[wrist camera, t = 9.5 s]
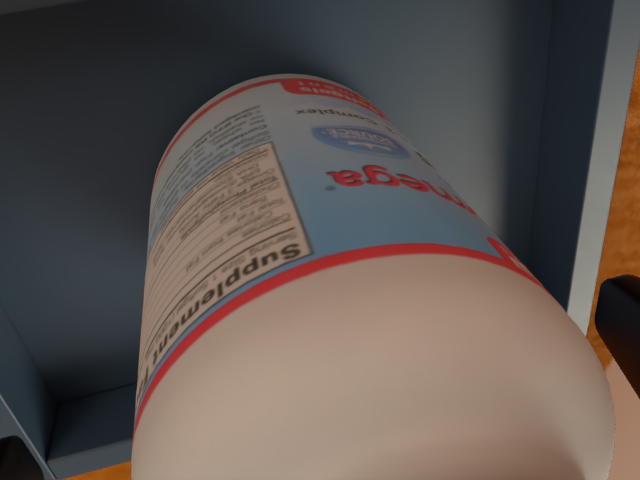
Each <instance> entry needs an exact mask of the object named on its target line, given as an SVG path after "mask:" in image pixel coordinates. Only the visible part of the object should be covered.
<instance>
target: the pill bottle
mask: <svg viewBox="0 0 640 480" xmlns="http://www.w3.org/2000/svg"><path fill="white" fill-rule="evenodd" d="M614 445H615V416H614V407H613V402H612V397H611V392H610V387H609V383H608V380H607V377H606V375H605V372H604V369H603V367H602V365H601V363H600V360H599V358H598V356H597V355H596V353H595V351H594V349H593V348H592V346H591V344H590V342H589V341H588V339H587V338H586V337H585V335H584V334H583V333H582V331H581V330H580V328H579V327H578V326H577V324H576V323H575V322H574V321H573V320H572V319H571V318H570V317H569V315H568V314H567V313H566V312H565V310H564V309H563V307H562V306H561V305H560V304H559V303H558V302H557V301H556V300H555V298H554V297H553V296H552V295H551V294H550V293H549V292H548V291H547V290H546V289H545V288H544V287H543V285H542V284H541V283H540V282H539V281H538V280H537V279H536V278H535V277H534V276H533V274H532V273H531V272H530V271H529V270H528V269H527V268H526V267H525V266H524V265H523V264H522V263H521V262H520V261H519V260H518V259H517V258H516V256H515V255H514V254H513V253H512V252H511V251H510V250H509V249H508V248H507V247H506V245H505V244H504V243H503V242H502V241H501V240H500V239H499V238H498V236H497V235H496V234H495V233H494V232H493V231H492V230H491V228H490V227H489V226H488V225H487V224H486V223H485V222H484V221H483V220H482V219H481V218H480V217H479V216H478V215H477V214H476V213H475V211H473V209H472V208H471V207H470V206H469V205H468V204H467V203H466V202H465V201H464V200H463V199H462V198H461V196H460V195H459V194H458V193H457V192H456V191H455V190H454V189H453V188H452V187H451V186H450V185H449V184H448V182H447V181H446V180H445V179H444V178H443V177H442V176H441V175H440V174H439V173H438V172H437V171H436V170H435V169H434V168H433V166H432V165H431V164H430V163H429V162H428V161H427V160H426V159H425V157H424V156H423V155H422V154H421V153H420V152H419V151H418V150H417V149H416V148H415V147H414V146H413V145H412V144H411V143H410V142H409V141H408V140H407V139H406V138H405V137H404V135H403V134H402V133H401V132H400V131H399V130H398V129H397V128H396V127H395V126H394V125H393V124H392V123H391V122H390V121H389V119H388V118H387V117H386V116H385V115H384V114H383V113H382V112H380V111H379V110H378V109H377V108H376V107H375V106H374V105H373V104H372V103H371V102H370V101H368V100H367V99H366V98H364V97H363V96H361V95H360V94H358V93H357V92H355V91H353V90H352V89H350V88H348V87H346V86H344V85H341V84H339V83H336V82H334V81H331V80H327V79H324V78H321V77H316V76H311V75H303V74H290V73H289V74H274V75H267V76H261V77H257V78H253V79H249V80H247V81H244V82H241V83H239V84H236V85H234V86H232V87H230V88H228V89H226V90H225V91H223V92H221V93H219V94H218V95H216V96H215V97H213V98H212V99H211V100H209V101H208V102H206V103H205V104H204V105H203V106H201V107H200V108H199V109H198V110H197V111H196V112H195V113H194V114H192V115H191V116H190V118H189V119H188V120H187V121H186V122H185V123H184V124H183V125H182V127H181V128H180V129H179V131H178V132H177V133H176V135H175V136H174V137H173V139H172V140H171V142H170V143H169V145H168V147H167V149H166V150H165V152H164V154H163V157H162V159H161V161H160V163H159V166H158V168H157V172H156V175H155V179H154V184H153V190H152V196H151V205H150V220H149V236H148V250H147V265H146V272H145V286H144V302H143V314H142V326H141V339H140V353H139V366H138V380H137V391H136V406H135V420H134V432H133V444H132V456H131V466H132V474H131V480H607V477H608V475H609V472H610V467H611V461H612V457H613V451H614Z"/></svg>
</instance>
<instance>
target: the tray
mask: <svg viewBox="0 0 640 480" xmlns="http://www.w3.org/2000/svg"><path fill="white" fill-rule="evenodd" d="M639 46H640V0H0V438H4V437H8V436H12V435H13V436H14V435H16V436H18V437H20V438H21V439H22V440H23V441H24V443H25V444H26V446H27V447H28V449H29V450H30V452H31V453H32V455H33V456H34V458H35V459H36V461H37V462H38V464H39V465H40V467H41V469H42V471H43V474H44V479H45V480H57V479H58V480H62V479H65V478H69V477H73V476H76V475H80V474H84V473H87V472H91V471H95V470H98V469H102V468H106V467H109V466H113V465H117V464H120V463H124V462H128V461H131V456H132V444H133V432H134V420H135V406H136V391H137V380H138V366H139V353H140V339H141V326H142V314H143V302H144V286H145V272H146V265H147V250H148V236H149V220H150V205H151V196H152V190H153V184H154V179H155V175H156V172H157V168H158V166H159V163H160V161H161V159H162V157H163V154H164V152H165V150H166V149H167V147H168V145H169V143H170V142H171V140H172V139H173V137H174V136H175V135H176V133H177V132H178V131H179V129H180V128H181V127H182V125H183V124H184V123H185V122H186V121H187V120H188V119H189V118H190V116H191V115H192V114H194V113H195V112H196V111H197V110H198V109H199V108H200V107H201V106H203V105H204V104H205V103H206V102H208V101H209V100H211V99H212V98H213V97H215V96H216V95H218V94H219V93H221V92H223V91H225V90H226V89H228V88H230V87H232V86H234V85H236V84H239V83H241V82H244V81H247V80H249V79H253V78H257V77H261V76H267V75H274V74H289V73H290V74H303V75H311V76H316V77H321V78H324V79H327V80H331V81H334V82H336V83H339V84H341V85H344V86H346V87H348V88H350V89H352V90H353V91H355V92H357V93H358V94H360V95H361V96H363V97H364V98H366V99H367V100H368V101H370V102H371V103H372V104H373V105H374V106H375V107H376V108H377V109H378V110H379V111H380V112H382V113H383V114H384V115H385V116H386V117H387V118H388V119H389V121H390V122H391V123H392V124H393V125H394V126H395V127H396V128H397V129H398V130H399V131H400V132H401V133H402V134H403V135H404V137H405V138H406V139H407V140H408V141H409V142H410V143H411V144H412V145H413V146H414V147H415V148H416V149H417V150H418V151H419V152H420V153H421V154H422V155H423V156H424V157H425V159H426V160H427V161H428V162H429V163H430V164H431V165H432V166H433V168H434V169H435V170H436V171H437V172H438V173H439V174H440V175H441V176H442V177H443V178H444V179H445V180H446V181H447V182H448V184H449V185H450V186H451V187H452V188H453V189H454V190H455V191H456V192H457V193H458V194H459V195H460V196H461V198H462V199H463V200H464V201H465V202H466V203H467V204H468V205H469V206H470V207H471V208H472V209H473V211H475V213H476V214H477V215H478V216H479V217H480V218H481V219H482V220H483V221H484V222H485V223H486V224H487V225H488V226H489V227H490V228H491V230H492V231H493V232H494V233H495V234H496V235H497V236H498V238H499V239H500V240H501V241H502V242H503V243H504V244H505V245H506V247H507V248H508V249H509V250H510V251H511V252H512V253H513V254H514V255H515V256H516V258H517V259H518V260H519V261H520V262H521V263H522V264H523V265H524V266H525V267H526V268H527V269H528V270H529V271H530V272H531V273H532V274H533V276H534V277H535V278H536V279H537V280H538V281H539V282H540V283H541V284H542V285H543V287H544V288H545V289H546V290H547V291H548V292H549V293H550V294H551V295H552V296H553V297H554V298H555V300H556V301H557V302H558V303H559V304H560V305H561V306H562V307H563V309H564V310H565V312H566V313H567V314H568V315H569V317H570V318H571V319H572V320H573V321H574V322H575V323H576V324H577V326H578V327H579V328H580V330H581V331H582V333H583V334H584V335H585V337H586V336H587V331H588V325H589V320H590V314H591V309H592V303H593V298H594V292H595V287H596V281H597V276H598V270H599V265H600V259H601V254H602V249H603V243H604V238H605V232H606V227H607V221H608V216H609V210H610V205H611V199H612V194H613V188H614V183H615V177H616V172H617V166H618V161H619V155H620V150H621V144H622V139H623V133H624V128H625V123H626V117H627V112H628V106H629V101H630V95H631V90H632V84H633V79H634V73H635V68H636V62H637V57H638V51H639Z"/></svg>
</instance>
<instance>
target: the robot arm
mask: <svg viewBox="0 0 640 480" xmlns="http://www.w3.org/2000/svg"><path fill="white" fill-rule="evenodd" d="M595 326H596V329H597V331H598V333H599V335H600V337H601V338H602V340H603V342H604V343H605V345H606V346H607V348H608V350H609V351H610V353H611V354H612V356H613V357H614V359H615V361H616V362H617V364H618V365H619V367H620V369H621V370H622V372H623V373H624V375H625V376H626V378H627V380H628V381H629V383H630V384H631V386H632V388H633V389H634V391H635V392H636V394H637V395H638V397H639V399H640V278H639V277H637V276H633V275H622V276H618V277H614V278H610V279H607V280H605V281H604V282H603V283H602V284H601V287H600V291H599V296H598V302H597V307H596V313H595ZM0 480H45V479H44V474H43V471H42V469H41V467H40V465H39V464H38V462H37V461H36V459H35V458H34V456H33V455H32V453H31V452H30V450H29V449H28V447H27V446H26V444H25V443H24V441H23V440H22V439H21V438H20V437H18V436H16V435H14V436H13V435H12V436H8V437H4V438H0Z"/></svg>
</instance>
